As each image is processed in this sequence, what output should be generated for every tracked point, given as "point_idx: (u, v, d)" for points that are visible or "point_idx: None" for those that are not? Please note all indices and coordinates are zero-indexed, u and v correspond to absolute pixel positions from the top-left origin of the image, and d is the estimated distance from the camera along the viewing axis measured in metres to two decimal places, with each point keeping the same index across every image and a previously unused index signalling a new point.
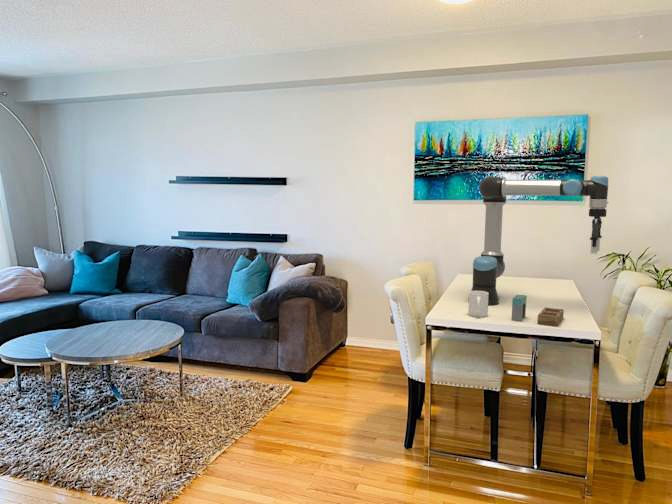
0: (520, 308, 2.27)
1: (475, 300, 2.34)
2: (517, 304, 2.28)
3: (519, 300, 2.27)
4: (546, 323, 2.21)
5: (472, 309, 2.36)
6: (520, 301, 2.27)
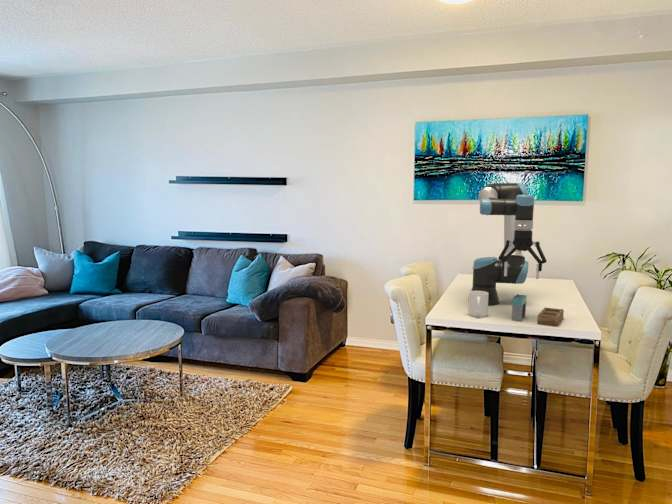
0: (520, 308, 2.27)
1: (475, 300, 2.34)
2: (517, 304, 2.28)
3: (519, 300, 2.27)
4: (546, 323, 2.21)
5: (472, 309, 2.36)
6: (520, 301, 2.27)
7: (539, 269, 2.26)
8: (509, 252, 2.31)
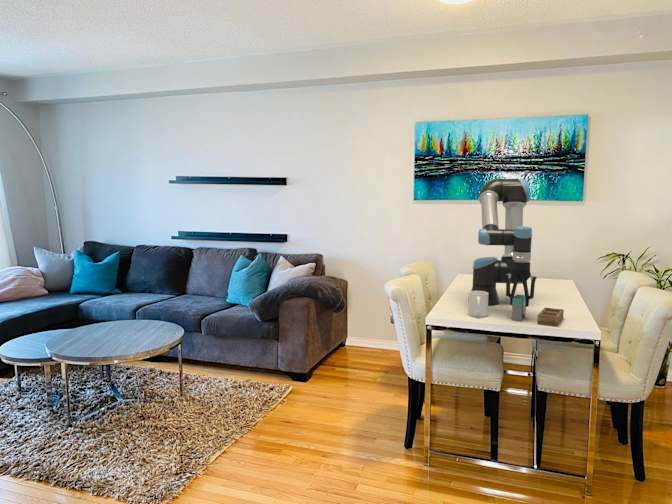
0: (520, 308, 2.27)
1: (475, 300, 2.34)
2: (517, 304, 2.28)
3: (519, 300, 2.27)
4: (546, 323, 2.21)
5: (472, 309, 2.36)
6: (520, 301, 2.27)
7: (526, 304, 2.30)
8: None
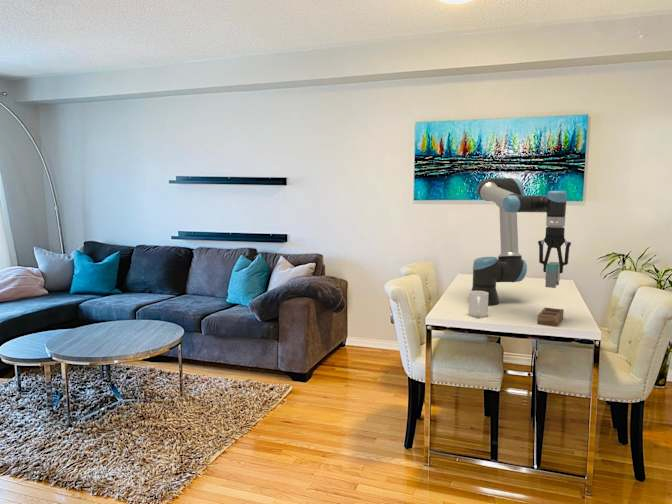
0: (554, 274, 2.21)
1: (475, 300, 2.34)
2: (551, 270, 2.22)
3: (553, 266, 2.21)
4: (546, 323, 2.21)
5: (472, 309, 2.36)
6: (554, 267, 2.21)
7: (560, 271, 2.24)
8: (546, 253, 2.26)
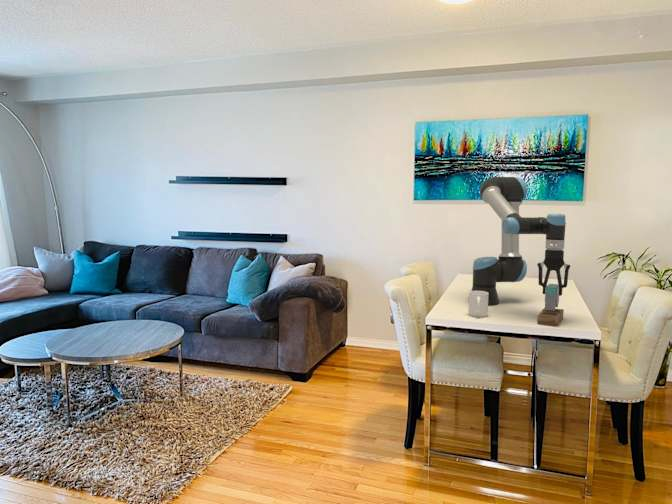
0: (554, 297, 2.22)
1: (475, 300, 2.34)
2: (551, 293, 2.23)
3: (553, 289, 2.22)
4: (546, 323, 2.21)
5: (472, 309, 2.36)
6: (554, 290, 2.22)
7: (559, 293, 2.25)
8: None
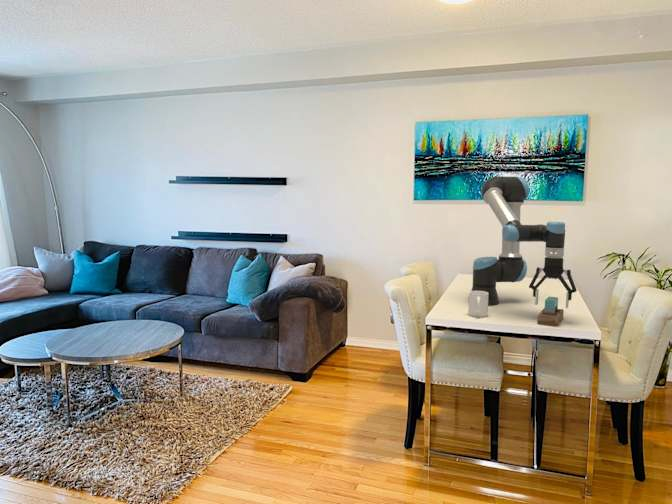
0: (553, 310, 2.23)
1: (475, 300, 2.34)
2: (550, 306, 2.24)
3: (552, 302, 2.23)
4: (546, 323, 2.21)
5: (472, 309, 2.36)
6: (553, 303, 2.23)
7: (569, 298, 2.23)
8: (540, 280, 2.28)
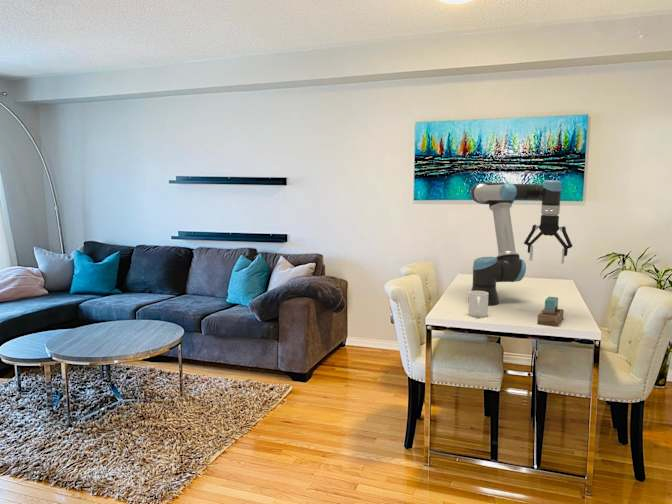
0: (553, 310, 2.23)
1: (475, 300, 2.34)
2: (550, 306, 2.24)
3: (552, 302, 2.23)
4: (546, 323, 2.21)
5: (472, 309, 2.36)
6: (553, 303, 2.23)
7: (565, 254, 2.30)
8: (535, 237, 2.35)
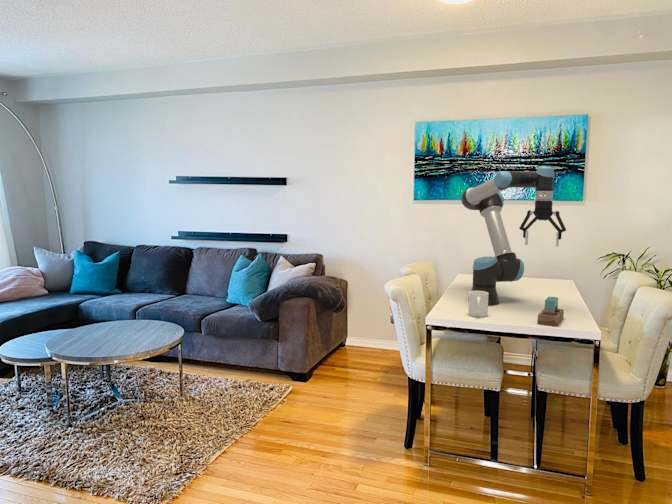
0: (553, 310, 2.23)
1: (475, 300, 2.34)
2: (550, 306, 2.24)
3: (552, 302, 2.23)
4: (546, 323, 2.21)
5: (472, 309, 2.36)
6: (553, 303, 2.23)
7: (559, 237, 2.38)
8: (530, 222, 2.44)
